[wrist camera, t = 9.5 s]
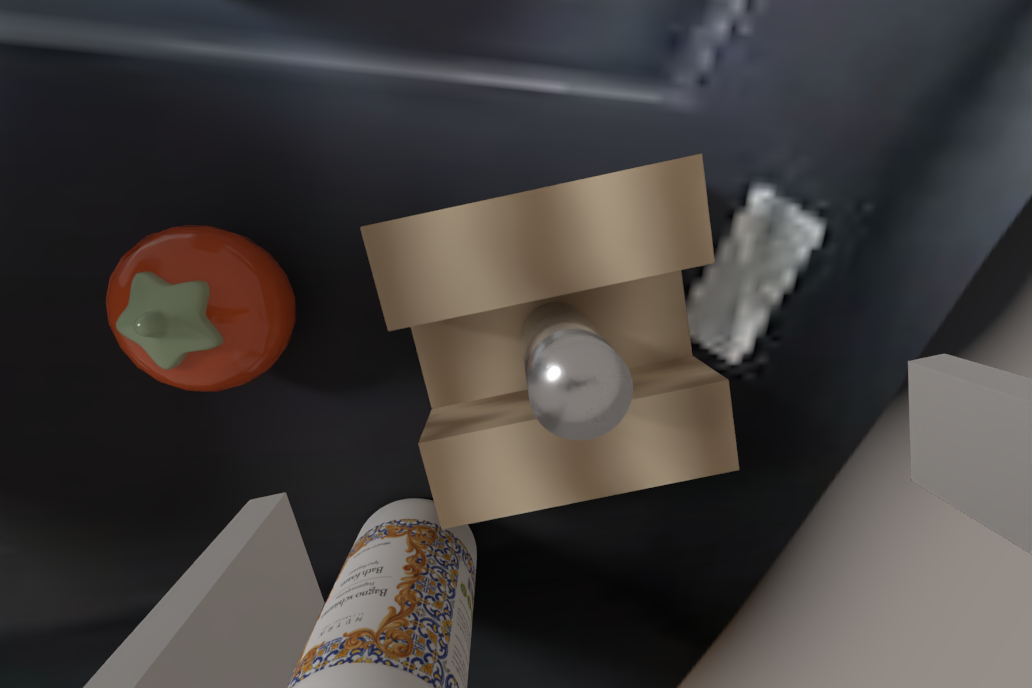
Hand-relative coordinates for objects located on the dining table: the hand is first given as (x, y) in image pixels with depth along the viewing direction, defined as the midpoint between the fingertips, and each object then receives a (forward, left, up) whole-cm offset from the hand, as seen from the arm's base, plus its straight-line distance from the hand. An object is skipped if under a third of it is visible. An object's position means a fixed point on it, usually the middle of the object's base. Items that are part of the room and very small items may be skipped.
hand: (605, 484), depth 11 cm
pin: (0, 0, -16) cm, 16 cm away
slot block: (0, 0, -17) cm, 17 cm away
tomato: (-15, +5, -17) cm, 23 cm away
